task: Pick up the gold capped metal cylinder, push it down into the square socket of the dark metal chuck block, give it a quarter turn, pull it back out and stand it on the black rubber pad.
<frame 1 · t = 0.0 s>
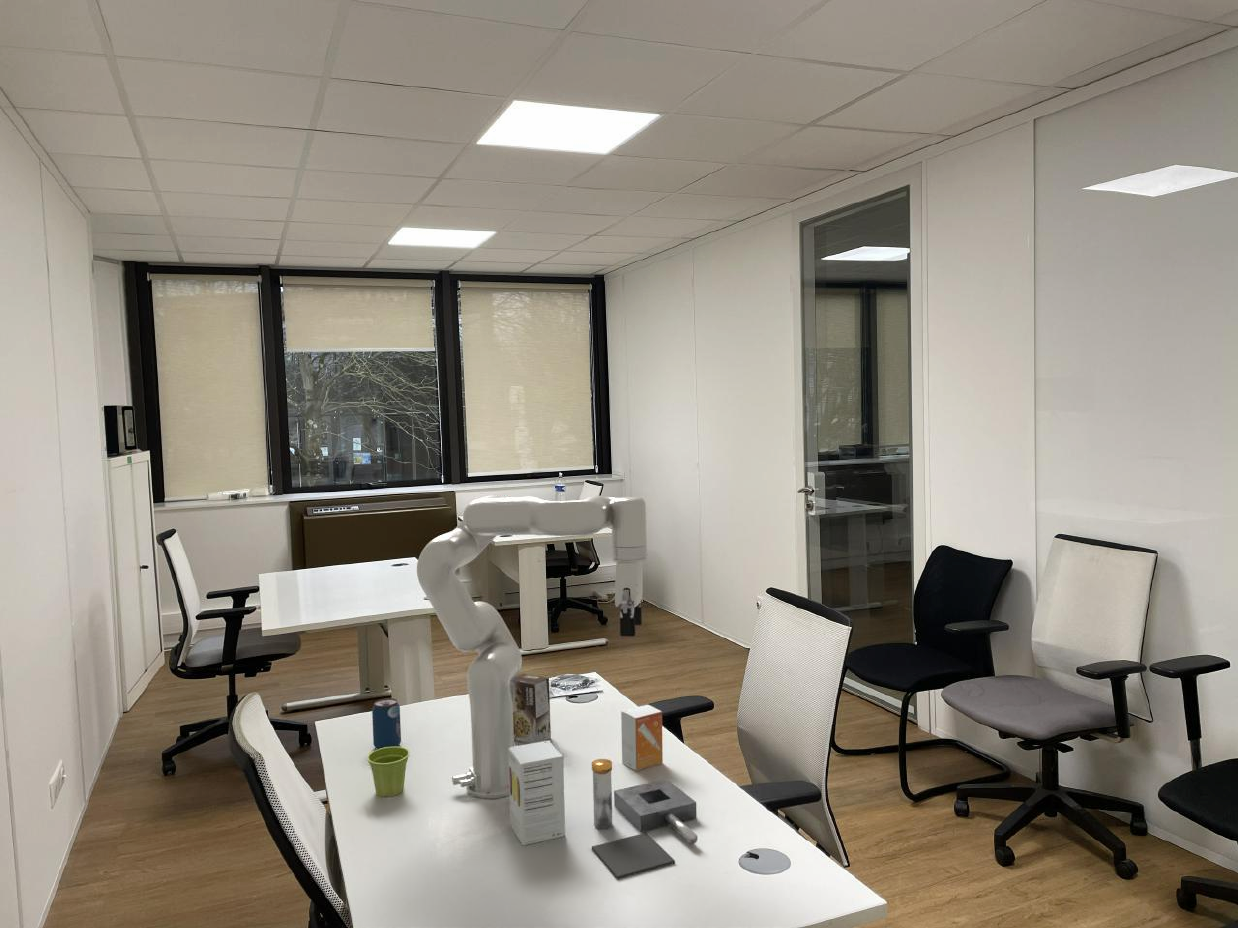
hand: (631, 630, 187), 37 cm above the table, tool pointing down, fingers open, 9 cm apart
chuck block: (654, 812, 181), on the table
gold capped metal cylinder: (603, 824, 176), on the table
small box: (642, 763, 207), on the table
pad: (632, 856, 163), on the table
coffee box: (530, 739, 224), on the table
plant pot: (390, 792, 194), on the table
supplement box: (537, 831, 174), on the table
soda can: (387, 747, 220), on the table
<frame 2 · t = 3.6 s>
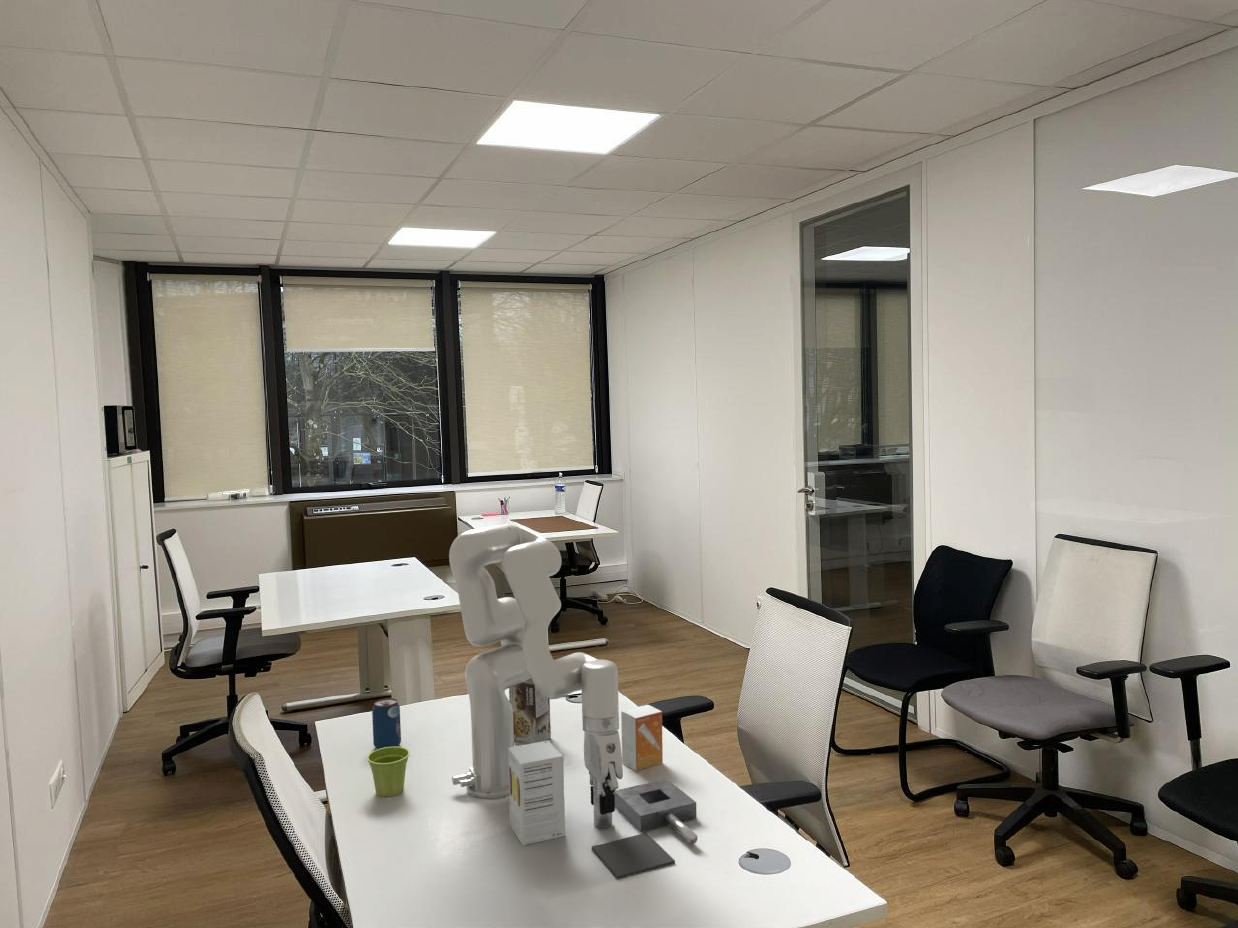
hand: (602, 807, 176), 4 cm above the table, tool pointing down, fingers closed on gold capped metal cylinder, 3 cm apart
gold capped metal cylinder: (603, 824, 176), on the table, touching gripper
everything else where it was.
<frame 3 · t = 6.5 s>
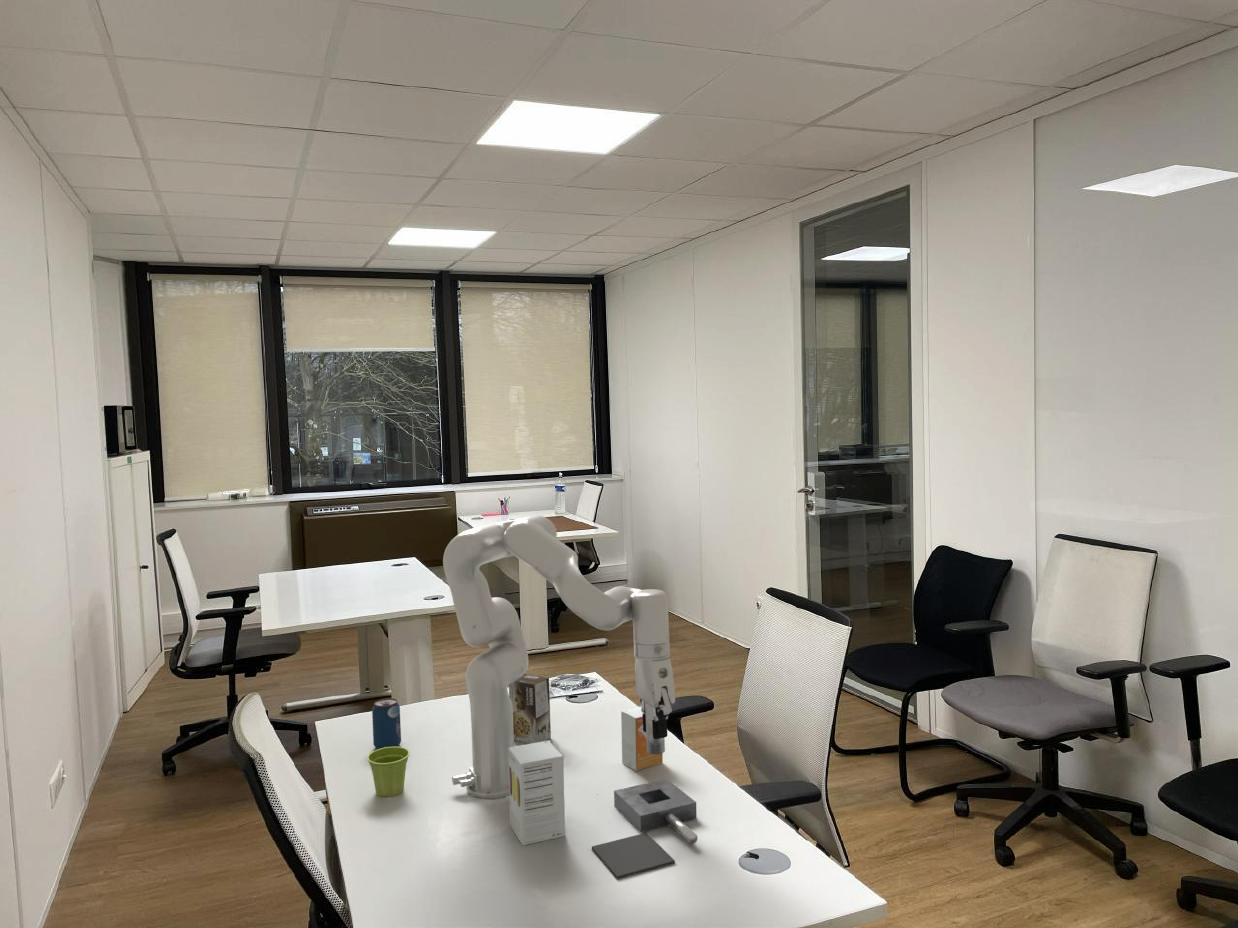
hand: (655, 733, 180), 17 cm above the table, tool pointing down, fingers closed on gold capped metal cylinder, 3 cm apart
gold capped metal cylinder: (655, 750, 180), point 13 cm above the table, touching gripper
everything else where it was.
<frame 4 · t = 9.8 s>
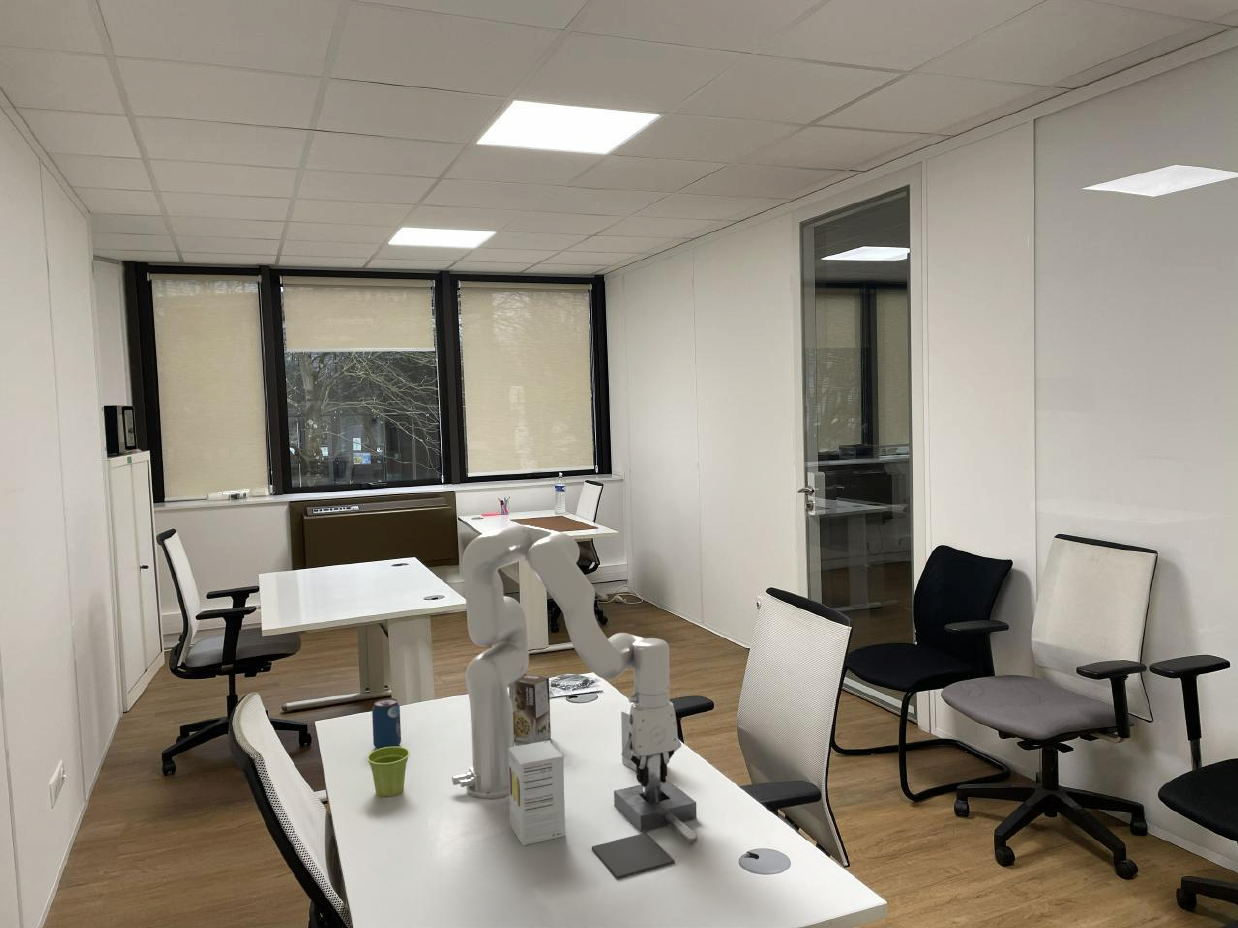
hand: (651, 781, 181), 7 cm above the table, tool pointing down, fingers closed on gold capped metal cylinder, 3 cm apart
gold capped metal cylinder: (652, 798, 181), point 3 cm above the table, touching gripper
everything else where it was.
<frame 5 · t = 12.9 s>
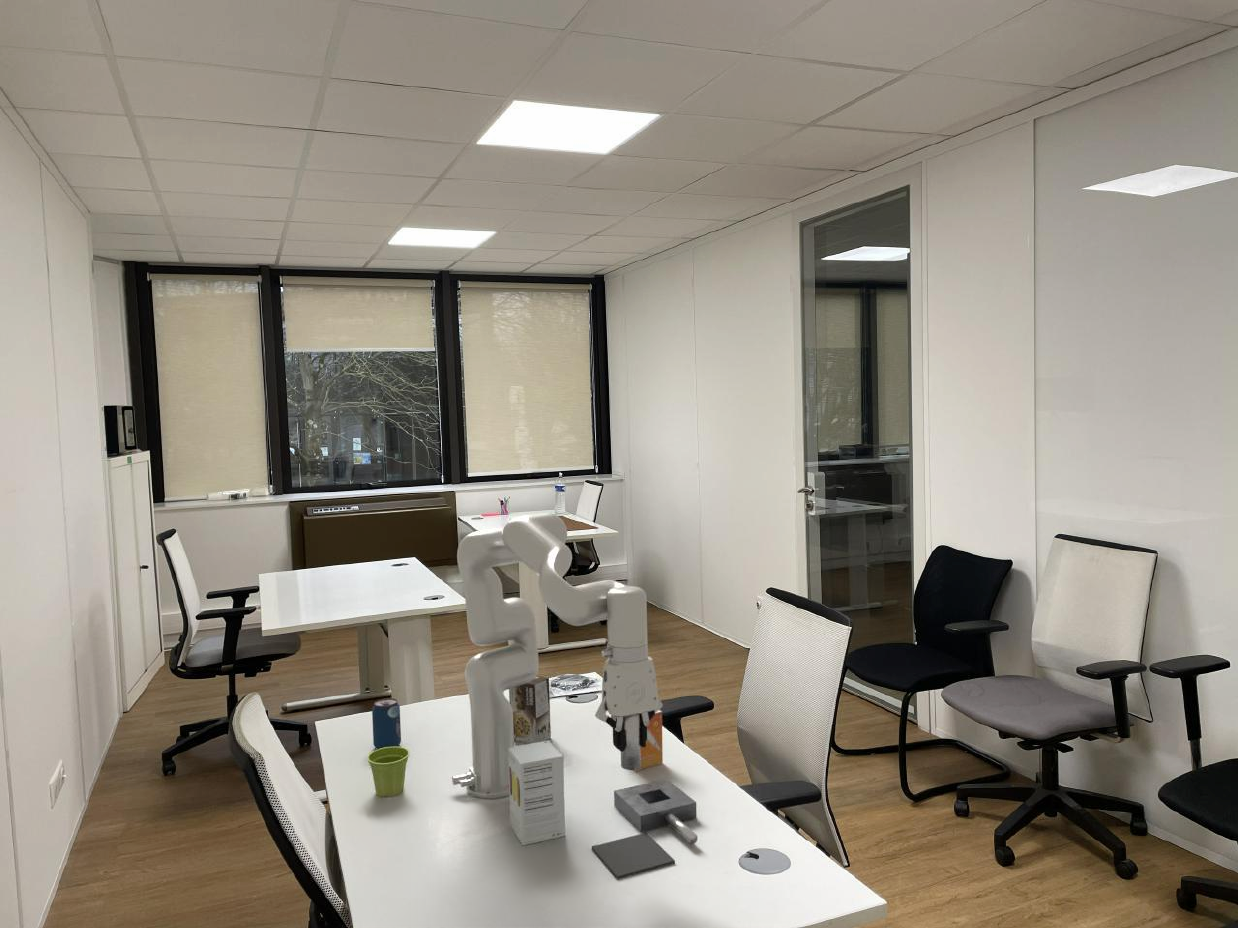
hand: (630, 745, 162), 22 cm above the table, tool pointing down, fingers closed on gold capped metal cylinder, 3 cm apart
gold capped metal cylinder: (631, 765, 162), point 18 cm above the table, touching gripper
everything else where it was.
when the fingers open (6 cm above the table, at t = 15.9 s): gold capped metal cylinder drops 1 cm, resting on pad.
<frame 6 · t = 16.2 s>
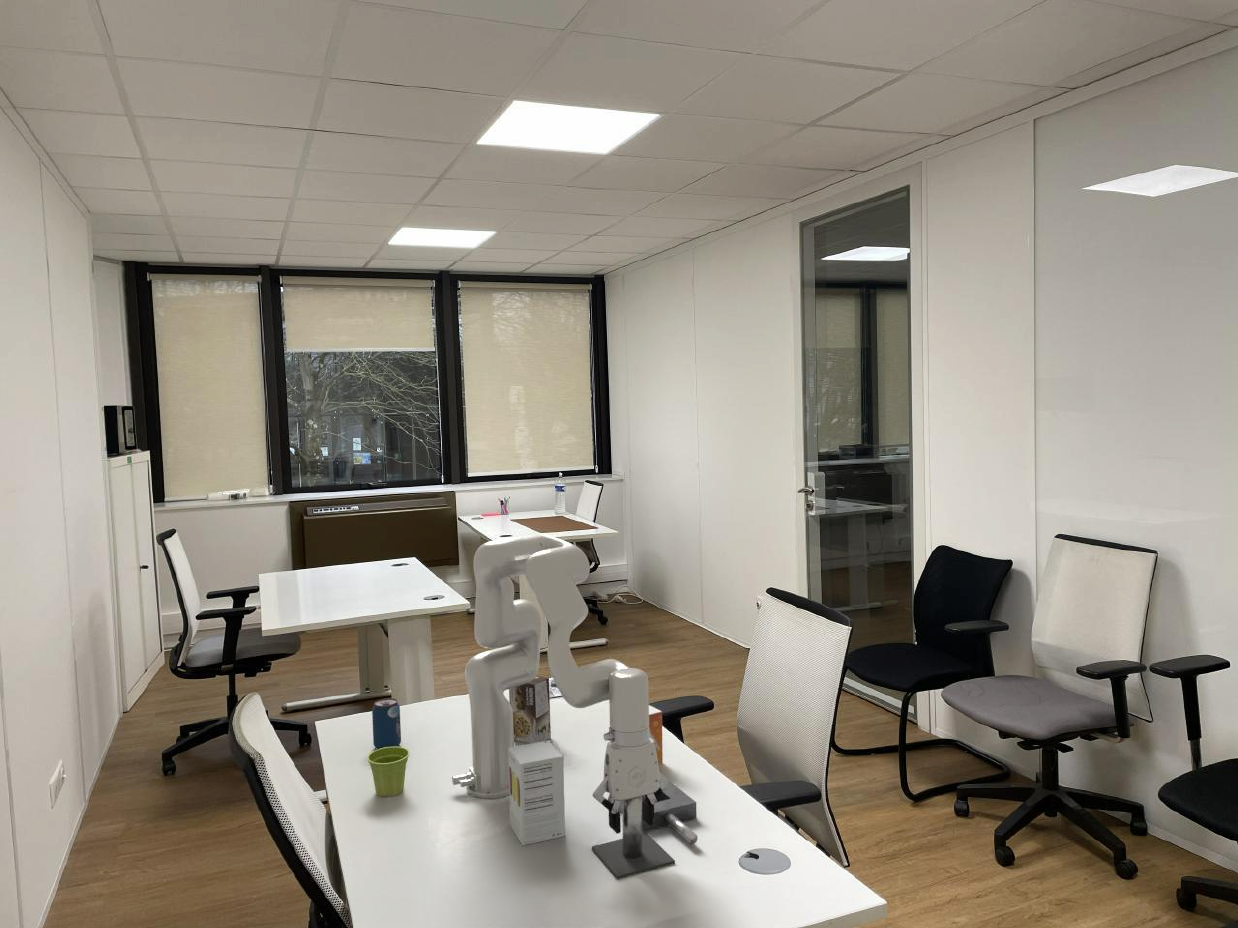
hand: (631, 825, 163), 6 cm above the table, tool pointing down, fingers open, 6 cm apart
gold capped metal cylinder: (632, 852, 163), point 1 cm above the table, touching pad
everything else where it was.
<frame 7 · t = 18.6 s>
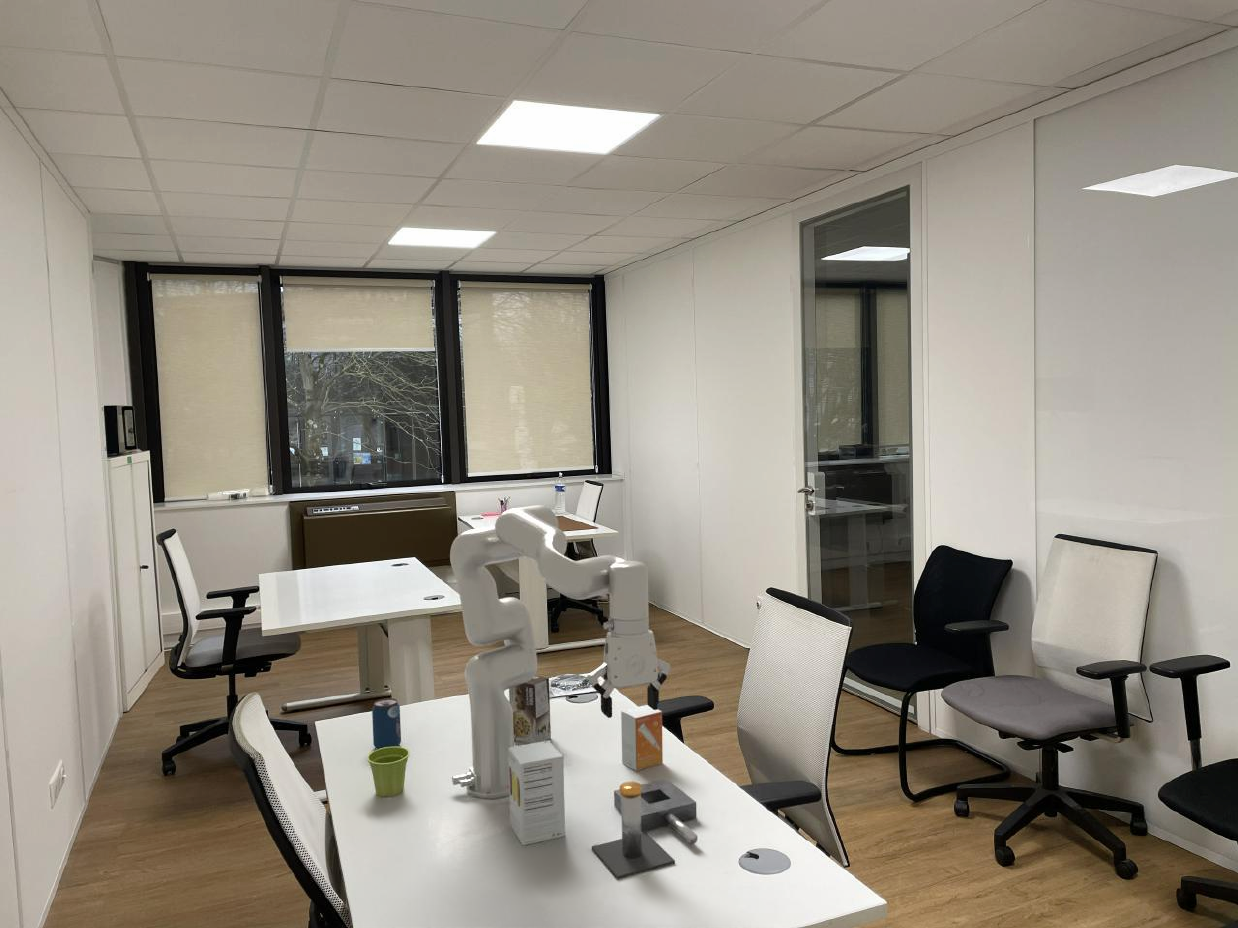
hand: (630, 711, 166), 27 cm above the table, tool pointing down, fingers open, 9 cm apart
nothing on the table moved.
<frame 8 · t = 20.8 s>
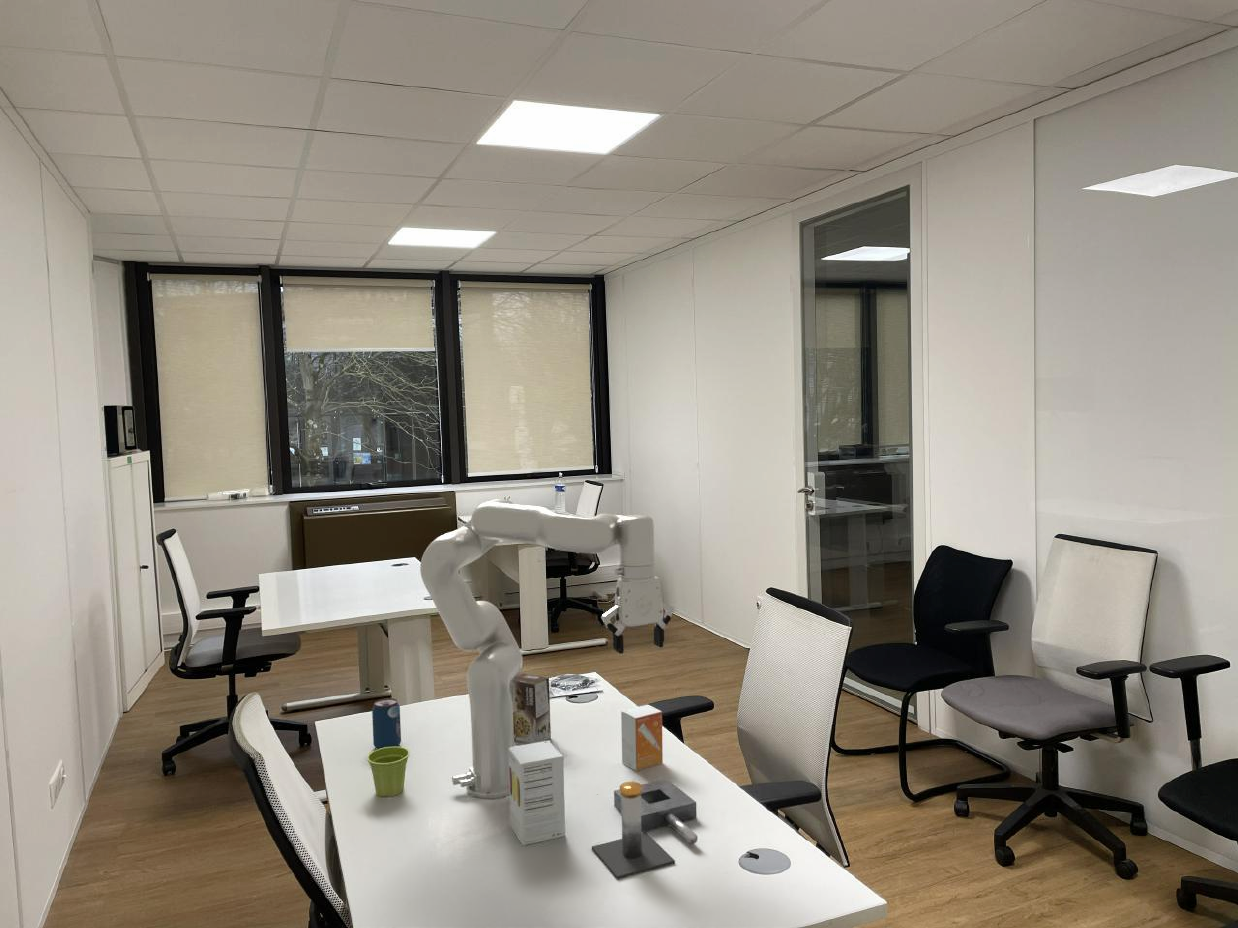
hand: (639, 648, 187), 33 cm above the table, tool pointing down, fingers open, 9 cm apart
nothing on the table moved.
at the end: gold capped metal cylinder inside the target area on the pad (0.1 cm from its centre), point 0.6 cm above the pad's base; the gripper is holding nothing; gold capped metal cylinder touching pad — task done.
